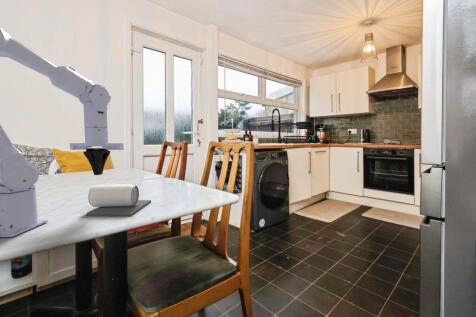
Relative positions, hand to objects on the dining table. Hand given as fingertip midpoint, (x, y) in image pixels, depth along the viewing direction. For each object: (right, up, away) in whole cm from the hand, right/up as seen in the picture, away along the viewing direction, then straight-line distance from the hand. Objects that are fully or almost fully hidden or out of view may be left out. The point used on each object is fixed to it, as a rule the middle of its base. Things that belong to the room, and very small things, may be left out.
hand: (98, 174), depth 69 cm
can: (-2, -6, 0) cm, 7 cm away
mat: (+7, -10, +1) cm, 12 cm away
